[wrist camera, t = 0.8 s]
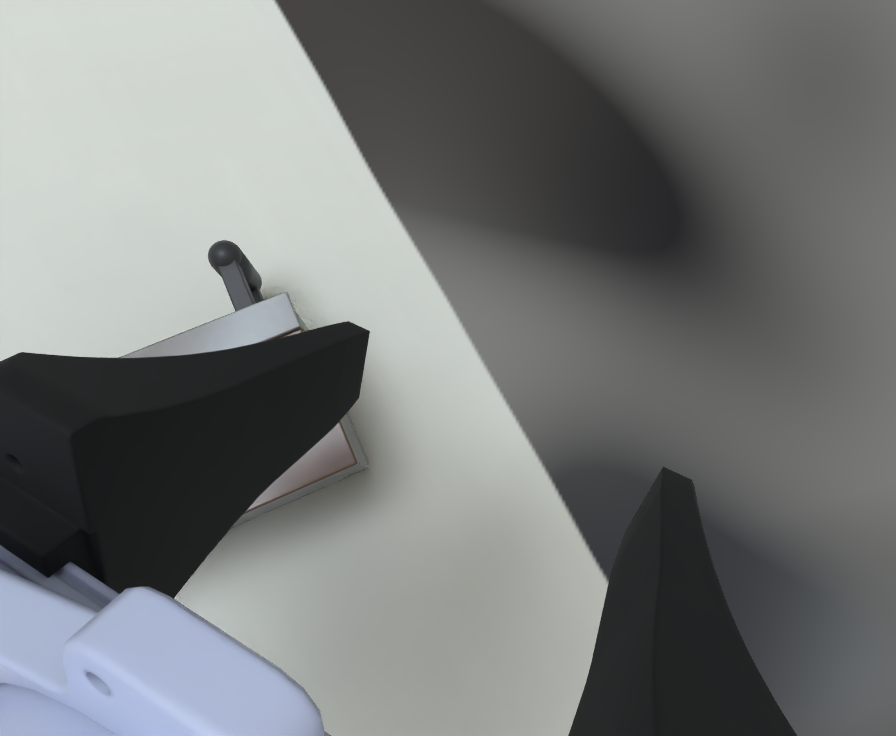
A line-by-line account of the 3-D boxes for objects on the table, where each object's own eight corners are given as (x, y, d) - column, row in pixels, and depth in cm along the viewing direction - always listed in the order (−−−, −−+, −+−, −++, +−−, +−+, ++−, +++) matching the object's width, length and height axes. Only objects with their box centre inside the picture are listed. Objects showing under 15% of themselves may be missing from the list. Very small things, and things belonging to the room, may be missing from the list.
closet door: (191, 403, 30) (142, 386, 24) (157, 314, 30) (102, 278, 25) (320, 350, 30) (300, 323, 25) (283, 264, 31) (257, 220, 26)
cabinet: (118, 578, 29) (24, 610, 22) (67, 432, 30) (-38, 419, 23) (370, 466, 31) (357, 463, 24) (313, 332, 32) (286, 290, 25)
